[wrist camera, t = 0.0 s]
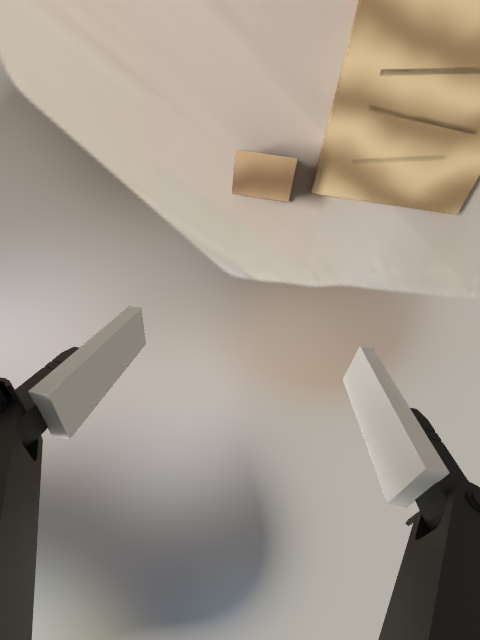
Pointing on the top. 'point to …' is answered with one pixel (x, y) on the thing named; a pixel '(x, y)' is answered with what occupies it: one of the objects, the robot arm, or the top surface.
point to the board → (406, 107)
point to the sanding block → (263, 175)
